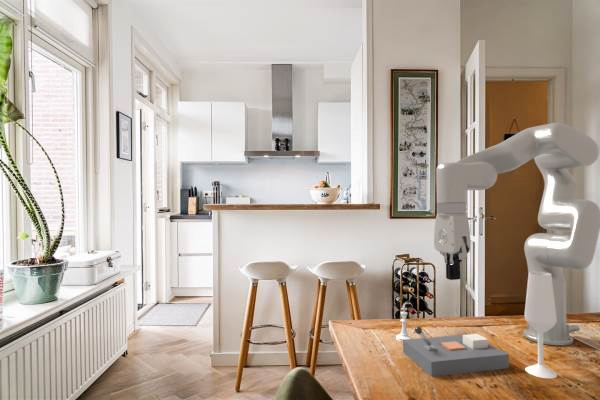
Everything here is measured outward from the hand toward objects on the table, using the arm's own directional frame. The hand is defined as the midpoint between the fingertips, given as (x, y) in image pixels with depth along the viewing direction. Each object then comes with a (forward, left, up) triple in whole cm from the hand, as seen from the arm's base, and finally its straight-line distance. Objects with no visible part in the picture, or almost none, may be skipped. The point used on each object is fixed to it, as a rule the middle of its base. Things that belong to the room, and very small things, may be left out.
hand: (453, 278), depth 102 cm
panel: (+1, +1, -21) cm, 21 cm away
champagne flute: (-16, +12, -21) cm, 29 cm away
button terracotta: (+1, +1, -20) cm, 20 cm away
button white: (-6, +1, -18) cm, 19 cm away
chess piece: (+6, -16, -21) cm, 28 cm away
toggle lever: (+7, +1, -17) cm, 18 cm away
